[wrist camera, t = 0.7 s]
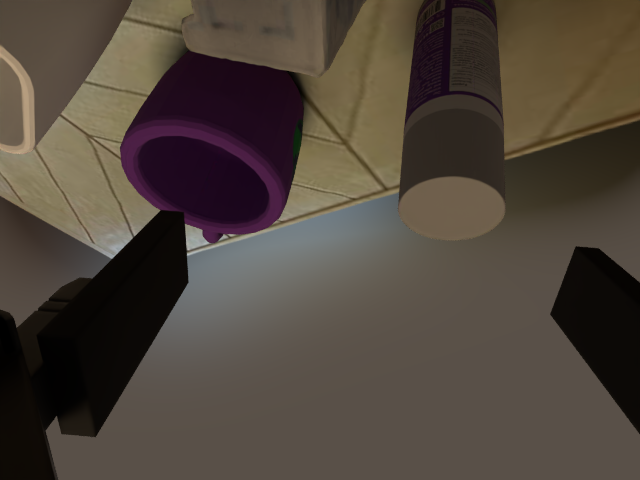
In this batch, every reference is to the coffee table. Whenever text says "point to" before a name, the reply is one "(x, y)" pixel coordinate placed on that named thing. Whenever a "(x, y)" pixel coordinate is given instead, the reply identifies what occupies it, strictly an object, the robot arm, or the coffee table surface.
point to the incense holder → (271, 31)
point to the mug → (217, 144)
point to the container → (454, 124)
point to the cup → (47, 61)
